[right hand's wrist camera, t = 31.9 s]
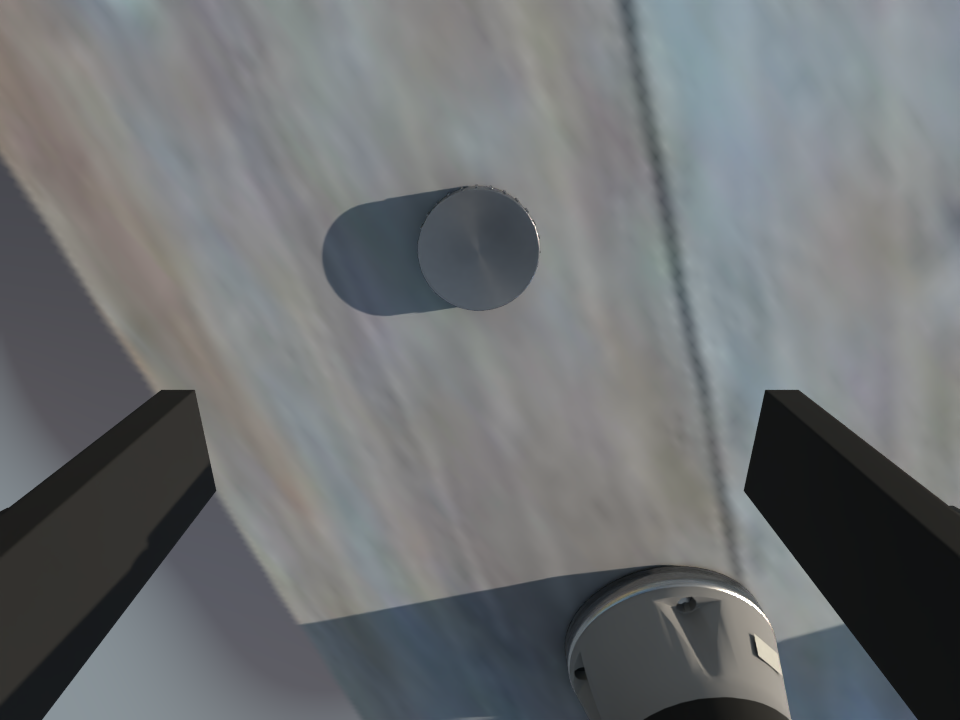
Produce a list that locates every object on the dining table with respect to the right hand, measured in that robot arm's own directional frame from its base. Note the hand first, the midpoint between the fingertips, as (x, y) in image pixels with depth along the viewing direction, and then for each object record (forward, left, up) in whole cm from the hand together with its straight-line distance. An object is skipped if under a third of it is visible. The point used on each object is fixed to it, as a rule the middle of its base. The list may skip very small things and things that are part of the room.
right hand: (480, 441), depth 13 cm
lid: (+1, +1, -18) cm, 18 cm away
